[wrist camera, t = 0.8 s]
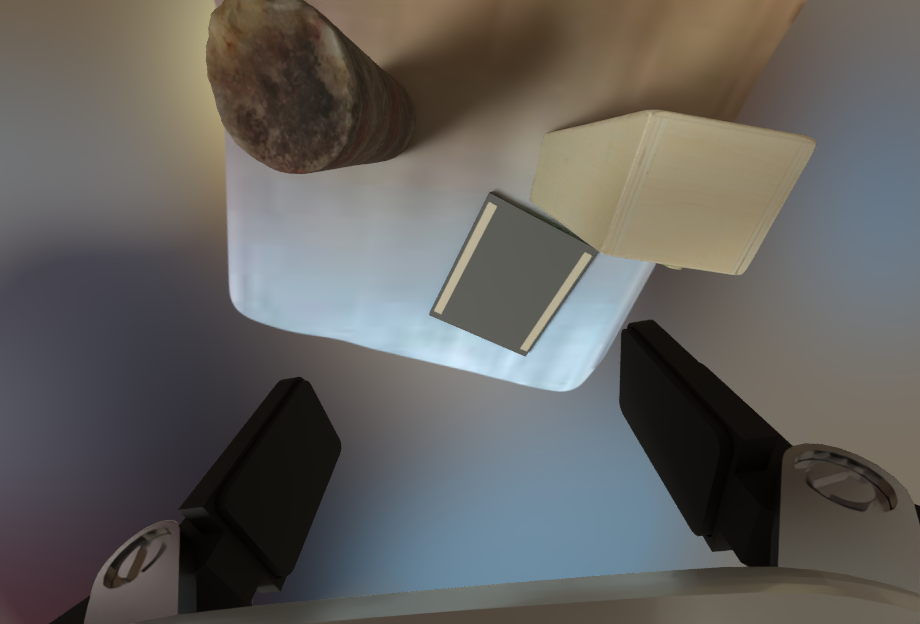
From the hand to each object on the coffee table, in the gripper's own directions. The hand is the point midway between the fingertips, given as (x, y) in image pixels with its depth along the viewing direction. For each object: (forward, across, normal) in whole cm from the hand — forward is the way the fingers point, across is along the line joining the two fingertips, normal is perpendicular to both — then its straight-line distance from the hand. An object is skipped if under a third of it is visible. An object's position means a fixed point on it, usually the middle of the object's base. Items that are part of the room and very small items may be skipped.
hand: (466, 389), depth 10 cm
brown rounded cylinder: (+30, +7, -10) cm, 32 cm away
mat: (+29, -4, +9) cm, 31 cm away
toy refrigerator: (+30, -12, -1) cm, 32 cm away
